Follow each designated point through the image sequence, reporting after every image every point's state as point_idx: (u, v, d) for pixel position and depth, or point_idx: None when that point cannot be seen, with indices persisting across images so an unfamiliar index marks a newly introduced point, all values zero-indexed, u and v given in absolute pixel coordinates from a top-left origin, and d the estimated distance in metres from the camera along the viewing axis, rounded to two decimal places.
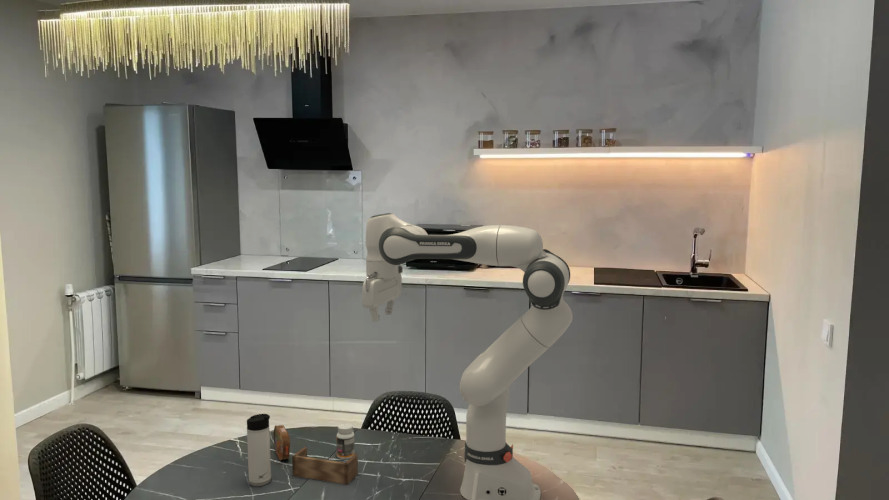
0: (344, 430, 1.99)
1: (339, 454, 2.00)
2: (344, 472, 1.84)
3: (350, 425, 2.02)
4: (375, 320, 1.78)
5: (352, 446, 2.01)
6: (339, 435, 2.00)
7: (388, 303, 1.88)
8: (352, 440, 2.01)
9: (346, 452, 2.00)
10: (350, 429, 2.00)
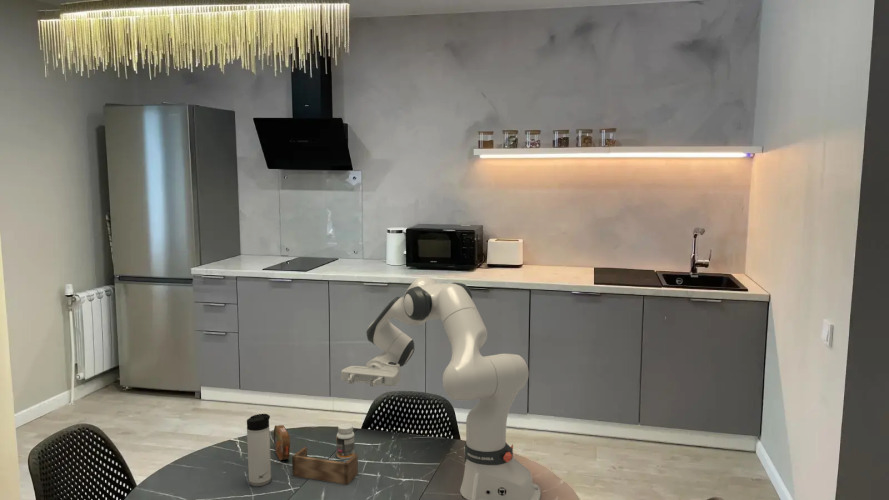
0: (344, 430, 1.99)
1: (339, 454, 2.00)
2: (344, 472, 1.84)
3: (350, 425, 2.02)
4: None
5: (352, 446, 2.01)
6: (339, 435, 2.00)
7: None
8: (352, 440, 2.01)
9: (346, 452, 2.00)
10: (350, 429, 2.00)
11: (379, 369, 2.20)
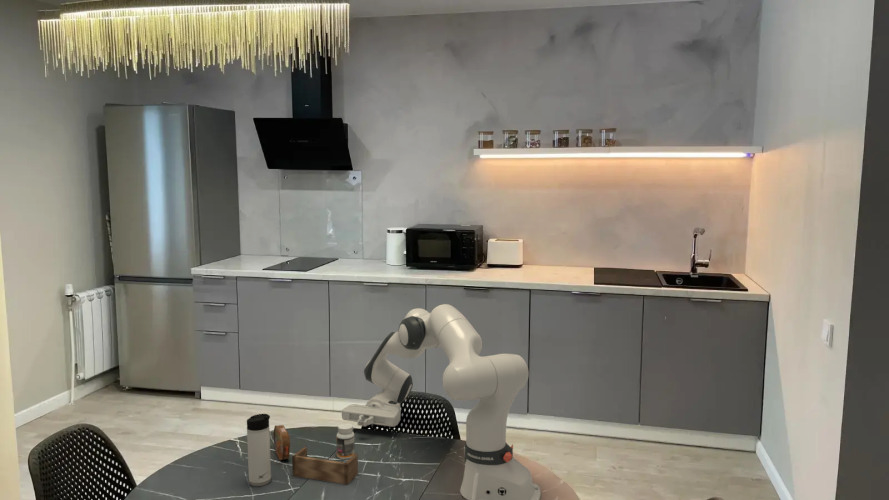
0: (344, 430, 1.99)
1: (339, 454, 2.00)
2: (344, 472, 1.84)
3: (350, 425, 2.02)
4: None
5: (352, 446, 2.01)
6: (339, 435, 2.00)
7: None
8: (352, 440, 2.01)
9: (346, 452, 2.00)
10: (350, 429, 2.00)
11: (379, 408, 2.22)
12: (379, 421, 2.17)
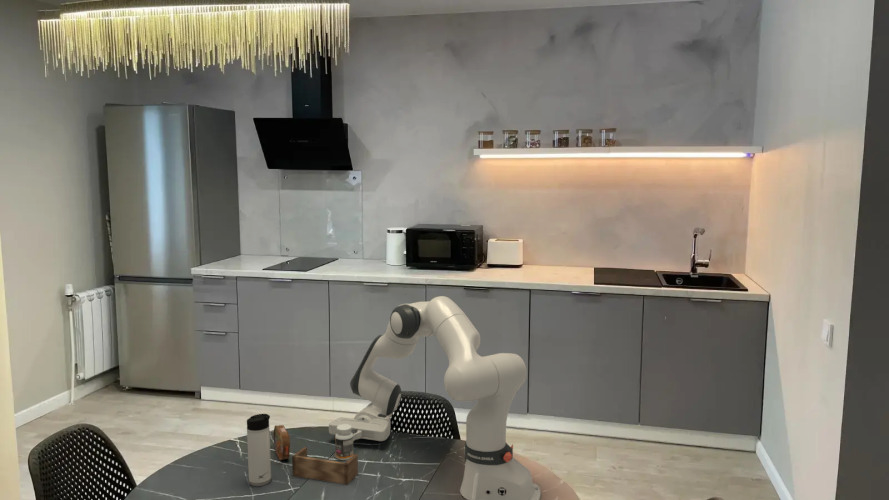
0: (343, 431, 1.98)
1: (338, 455, 1.99)
2: (344, 472, 1.84)
3: (349, 426, 2.01)
4: None
5: (351, 447, 2.00)
6: (338, 436, 1.99)
7: None
8: (351, 441, 2.00)
9: (345, 453, 1.99)
10: (349, 430, 1.99)
11: (368, 422, 2.13)
12: (367, 435, 2.08)
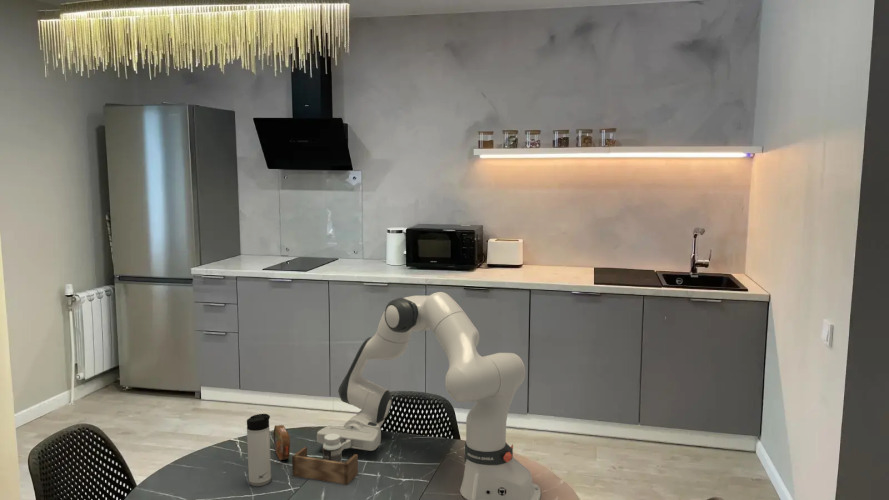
0: (330, 441, 1.91)
1: None
2: (344, 472, 1.84)
3: (337, 435, 1.94)
4: None
5: (339, 457, 1.93)
6: (325, 446, 1.92)
7: None
8: (339, 451, 1.92)
9: None
10: (337, 440, 1.92)
11: (358, 430, 2.05)
12: (357, 445, 2.00)
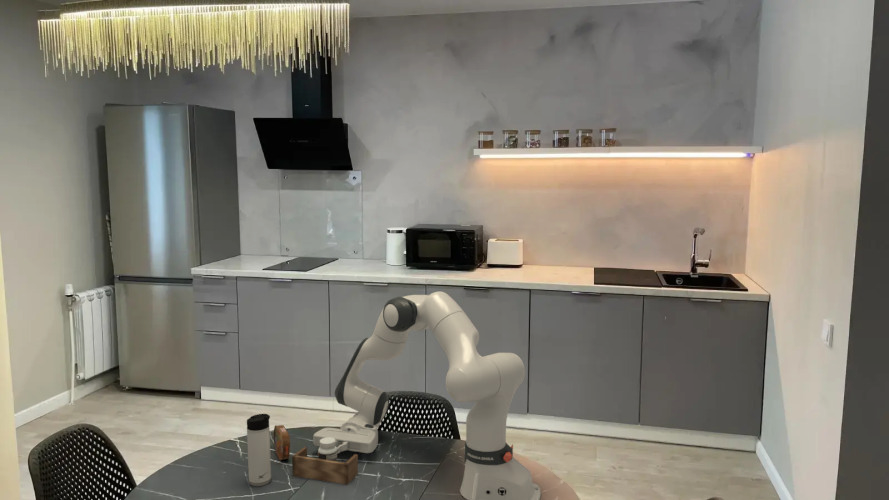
0: (326, 445, 1.88)
1: None
2: (344, 472, 1.84)
3: (332, 439, 1.91)
4: None
5: None
6: (321, 450, 1.89)
7: None
8: (334, 455, 1.90)
9: None
10: (332, 444, 1.89)
11: (355, 433, 2.03)
12: (354, 447, 1.99)
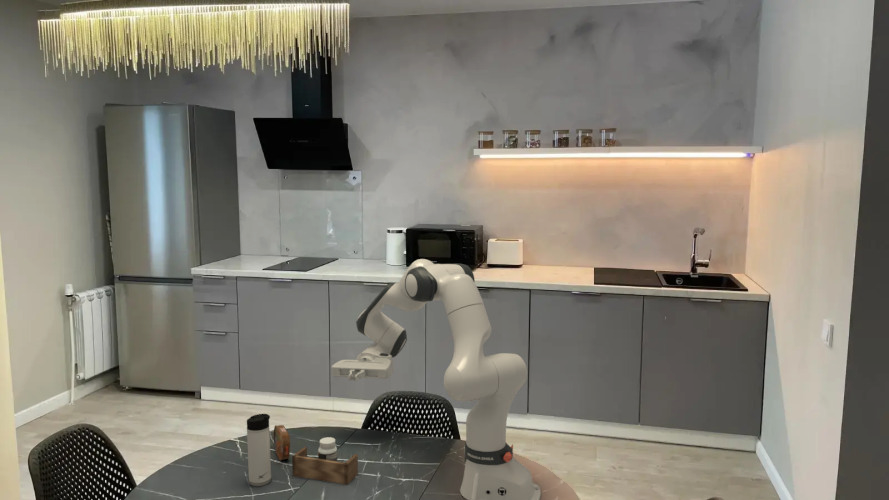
0: (326, 445, 1.88)
1: None
2: (344, 472, 1.84)
3: (332, 439, 1.91)
4: None
5: None
6: (321, 450, 1.89)
7: None
8: (334, 455, 1.90)
9: None
10: (332, 444, 1.89)
11: (370, 362, 2.12)
12: (371, 374, 2.07)
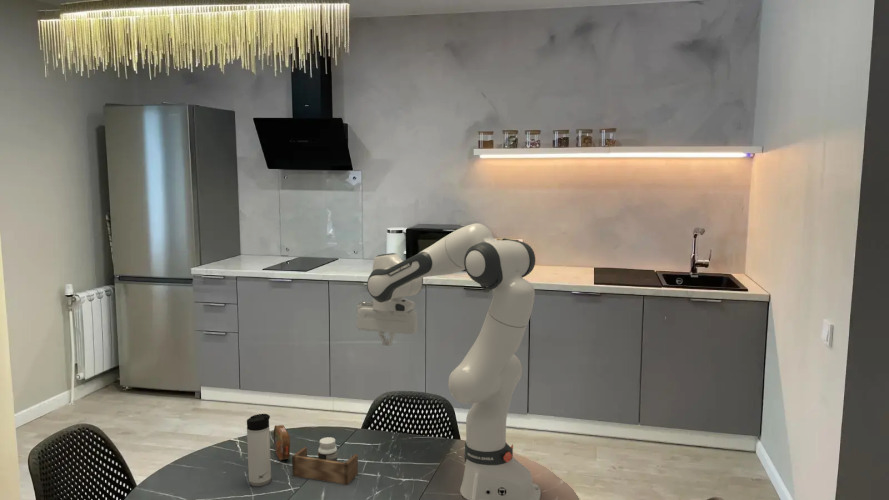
0: (326, 445, 1.88)
1: None
2: (344, 472, 1.84)
3: (332, 439, 1.91)
4: None
5: None
6: (321, 450, 1.89)
7: None
8: (334, 455, 1.90)
9: None
10: (332, 444, 1.89)
11: (391, 315, 2.02)
12: None
